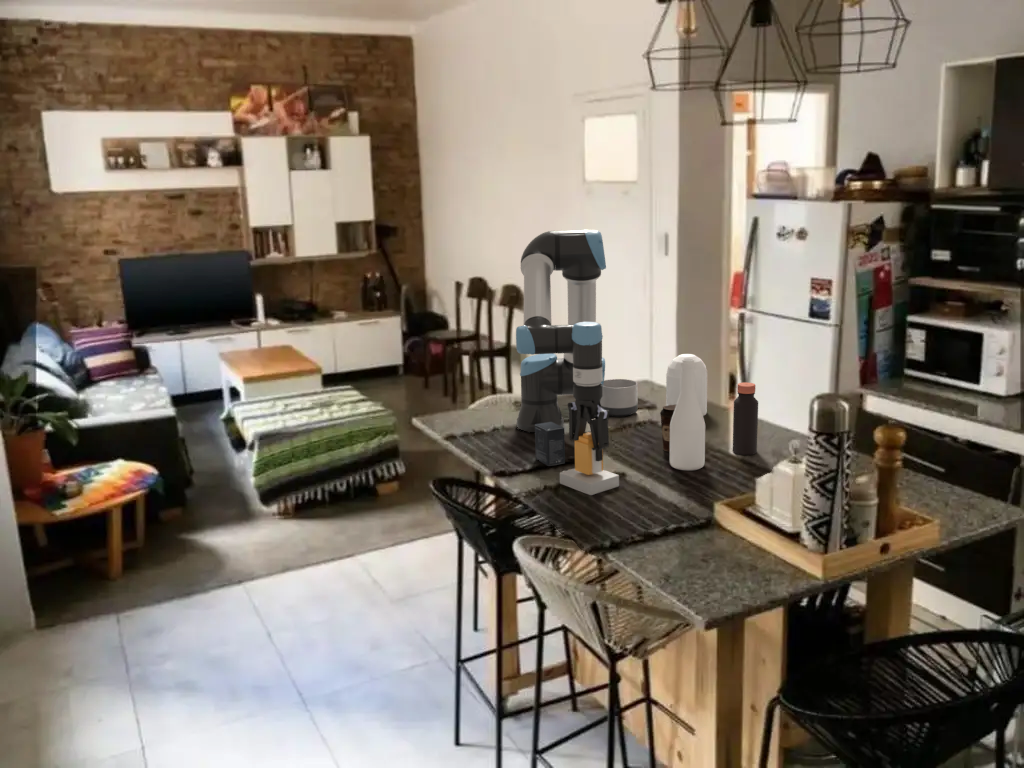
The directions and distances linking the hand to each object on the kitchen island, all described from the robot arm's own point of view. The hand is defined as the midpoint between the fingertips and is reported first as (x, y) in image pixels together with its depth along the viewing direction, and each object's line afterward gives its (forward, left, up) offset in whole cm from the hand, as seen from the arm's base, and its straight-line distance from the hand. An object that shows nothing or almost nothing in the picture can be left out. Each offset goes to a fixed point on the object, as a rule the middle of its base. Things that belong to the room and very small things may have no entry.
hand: (589, 469), depth 236 cm
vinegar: (+10, +51, -5) cm, 52 cm away
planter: (-45, +54, -5) cm, 71 cm away
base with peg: (-2, 0, -4) cm, 5 cm away
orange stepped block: (0, 0, 0) cm, 0 cm away
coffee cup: (-5, +38, -5) cm, 39 cm away
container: (-30, +71, -5) cm, 77 cm away
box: (-22, +5, -5) cm, 23 cm away
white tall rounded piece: (+7, +30, -5) cm, 31 cm away
